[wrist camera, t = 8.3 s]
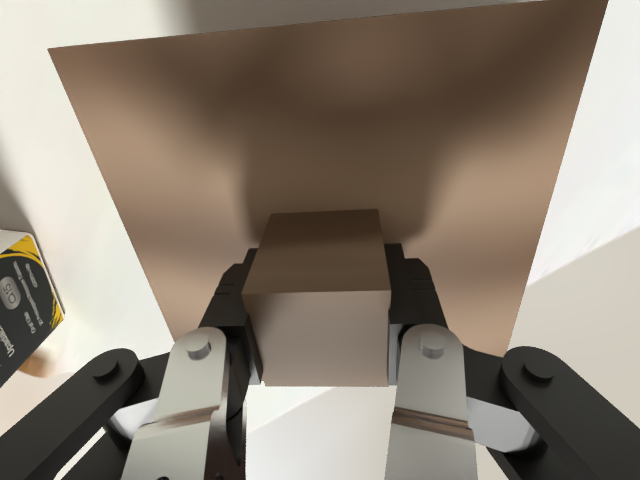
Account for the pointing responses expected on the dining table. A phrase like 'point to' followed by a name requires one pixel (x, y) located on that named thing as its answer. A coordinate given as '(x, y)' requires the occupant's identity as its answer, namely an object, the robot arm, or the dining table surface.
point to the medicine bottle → (23, 301)
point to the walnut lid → (339, 168)
